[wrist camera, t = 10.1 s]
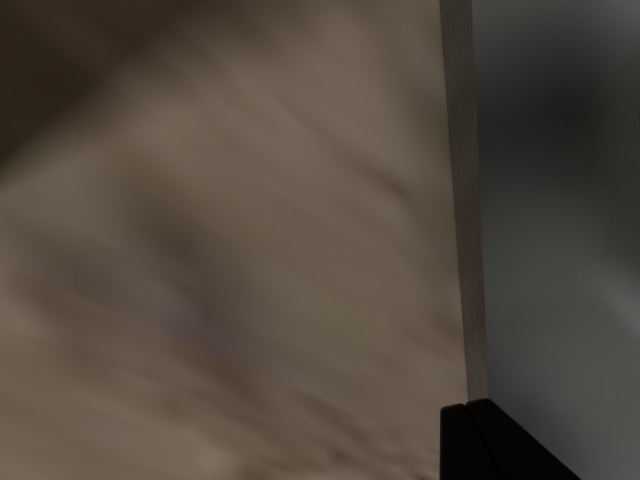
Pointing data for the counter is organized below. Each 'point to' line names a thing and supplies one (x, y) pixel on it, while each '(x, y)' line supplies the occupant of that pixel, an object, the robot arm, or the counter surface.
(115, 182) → the counter surface
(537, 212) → the levelling base
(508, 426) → the robot arm
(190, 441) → the counter surface
